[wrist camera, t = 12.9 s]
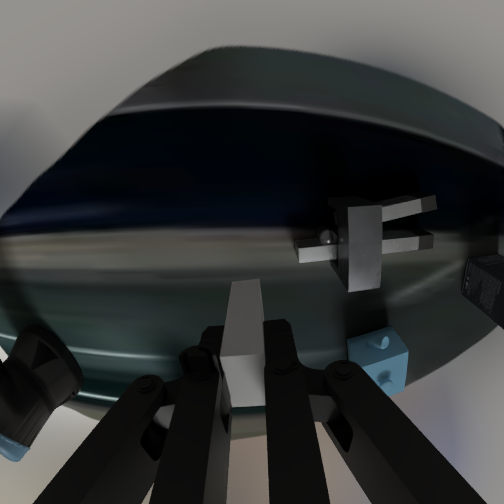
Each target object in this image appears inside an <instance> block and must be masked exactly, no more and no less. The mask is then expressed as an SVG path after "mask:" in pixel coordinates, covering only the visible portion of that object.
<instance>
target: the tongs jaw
mask: <svg viewBox="0 0 504 504" xmlns="http://www.w3.org/2000/svg"><path fill="white" fill-rule="evenodd" d="M375 203H378V204H381V205H382V222H384V221H388V220H392V219H396V218H400V217H404V216H408V215H412V214H416V213H420V212H422V213H423V212H427V211H431V210H435V209H437V206H436V197H435V195H433V194H429V193H424V192H416V193H412V194H407V195H405V196H400V197H396V198H391V199H387V200H382V201H378V202H375ZM333 214H334V219H335V224H336V226H338V223H337V211H334V212H333Z"/></svg>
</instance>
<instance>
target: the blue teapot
mask: <svg viewBox="0 0 504 504" xmlns="http://www.w3.org/2000/svg"><path fill="white" fill-rule="evenodd" d="M347 349H348V360H349V361H353V362H355V363H357V364H358V365H360V366H361V367H362V368H363V370H364V371H365V372H366V373H367V374H368V375H369V376H370V377H371V378H372V379H373V380H374V381H375V383H376V384H377V385H378V386H379V387H380V388H381V389H382V390H383V391H384V392H385V393H386V394H387V396H391V395H394V394H396V393H399V392H401V391H404V386H405V379H406V371H407V362H408V349H407V347H406V346H405V344H404V343H403V342H402V340H401V339H400V337H399V336H398V334H397V333H396V332H395V330H394V329H393V327H392V326H388V327H385V328H382V329H379V330H376V331H372V332H369V333H366V334H363V335H359V336H356V337H353V338H349V339H347Z"/></svg>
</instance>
